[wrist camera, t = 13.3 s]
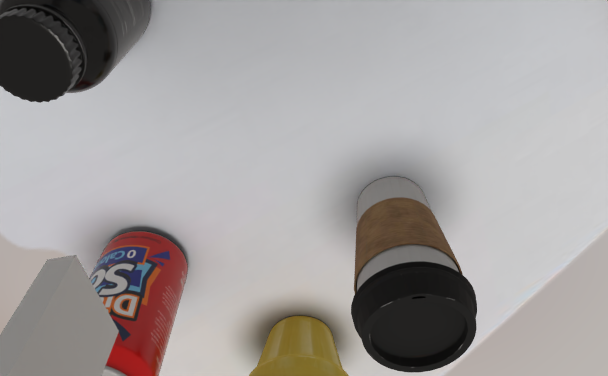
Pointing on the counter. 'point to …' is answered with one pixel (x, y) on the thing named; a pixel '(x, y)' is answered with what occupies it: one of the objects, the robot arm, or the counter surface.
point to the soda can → (140, 299)
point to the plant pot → (299, 350)
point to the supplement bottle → (65, 43)
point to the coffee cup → (408, 282)
